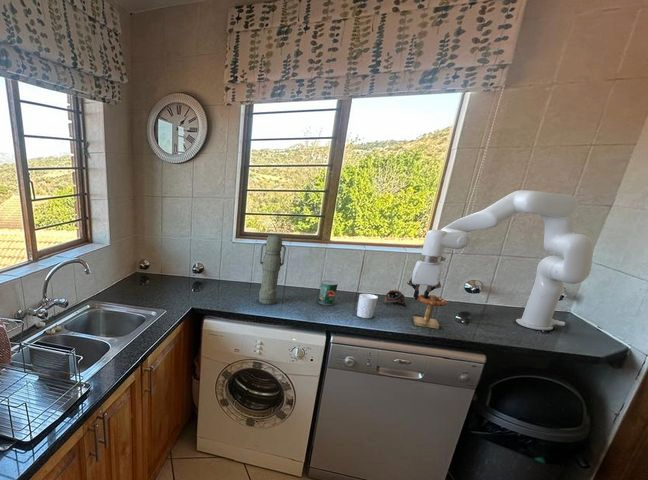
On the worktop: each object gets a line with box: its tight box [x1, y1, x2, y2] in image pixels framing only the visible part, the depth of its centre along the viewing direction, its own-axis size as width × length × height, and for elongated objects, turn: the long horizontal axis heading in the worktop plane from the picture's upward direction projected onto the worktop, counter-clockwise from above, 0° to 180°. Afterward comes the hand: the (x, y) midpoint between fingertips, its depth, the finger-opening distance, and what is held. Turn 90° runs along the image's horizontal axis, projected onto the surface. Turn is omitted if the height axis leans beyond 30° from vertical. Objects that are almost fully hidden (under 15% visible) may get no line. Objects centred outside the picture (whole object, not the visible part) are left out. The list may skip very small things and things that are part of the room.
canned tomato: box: [317, 280, 339, 306], centre depth 210 cm, size 8×8×11 cm
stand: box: [412, 294, 440, 330], centre depth 181 cm, size 9×9×14 cm
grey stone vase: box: [258, 233, 287, 305], centre depth 206 cm, size 9×12×35 cm
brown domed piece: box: [383, 289, 406, 306], centre depth 210 cm, size 12×10×8 cm
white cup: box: [356, 293, 379, 319], centre depth 191 cm, size 8×8×10 cm
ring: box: [417, 294, 448, 307], centre depth 179 cm, size 11×11×2 cm
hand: (419, 299), depth 181 cm, fingers closed
